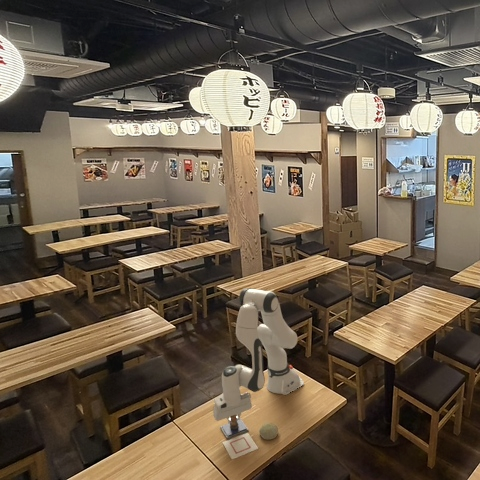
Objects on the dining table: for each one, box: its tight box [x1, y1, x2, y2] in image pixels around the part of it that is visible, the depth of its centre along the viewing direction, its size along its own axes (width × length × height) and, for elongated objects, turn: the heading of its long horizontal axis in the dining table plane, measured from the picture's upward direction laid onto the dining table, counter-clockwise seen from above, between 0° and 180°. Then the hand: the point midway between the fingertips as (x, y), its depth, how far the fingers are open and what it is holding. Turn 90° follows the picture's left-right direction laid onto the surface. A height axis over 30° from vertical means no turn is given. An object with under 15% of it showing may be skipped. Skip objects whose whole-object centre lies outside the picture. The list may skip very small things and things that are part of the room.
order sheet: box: [222, 432, 259, 460], centre depth 197 cm, size 14×12×1 cm
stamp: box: [229, 414, 239, 430], centre depth 206 cm, size 4×4×9 cm
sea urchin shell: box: [258, 422, 279, 441], centre depth 202 cm, size 9×8×8 cm
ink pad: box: [220, 418, 249, 440], centre depth 207 cm, size 12×9×2 cm
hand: (233, 420), depth 206 cm, fingers closed on stamp, 3 cm apart
